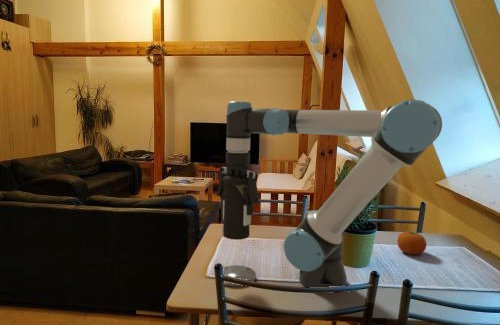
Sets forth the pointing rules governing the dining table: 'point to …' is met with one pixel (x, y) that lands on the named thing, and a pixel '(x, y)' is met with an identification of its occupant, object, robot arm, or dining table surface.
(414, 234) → the fruit
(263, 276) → the dining table surface
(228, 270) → the flange plate
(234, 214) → the container
